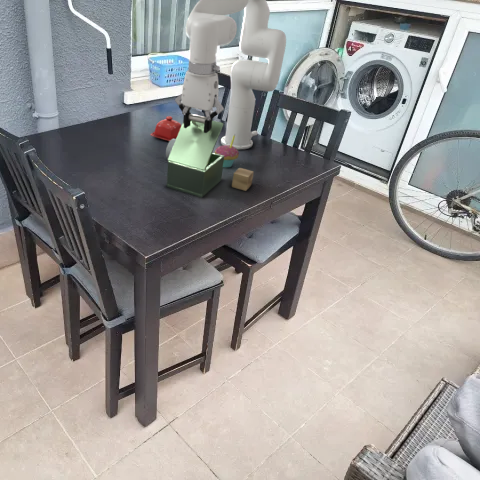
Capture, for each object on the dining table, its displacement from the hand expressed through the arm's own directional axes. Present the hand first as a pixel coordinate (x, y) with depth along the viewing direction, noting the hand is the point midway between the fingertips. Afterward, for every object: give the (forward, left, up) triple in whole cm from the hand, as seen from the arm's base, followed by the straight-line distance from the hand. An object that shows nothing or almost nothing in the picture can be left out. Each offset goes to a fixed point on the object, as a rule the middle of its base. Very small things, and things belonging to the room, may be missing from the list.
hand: (196, 128), depth 135 cm
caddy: (-2, -1, -19) cm, 19 cm away
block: (-14, +9, -19) cm, 25 cm away
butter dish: (-20, -38, -20) cm, 47 cm away
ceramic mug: (-10, -18, -20) cm, 28 cm away
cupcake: (-21, -6, -20) cm, 29 cm away
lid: (0, 0, -5) cm, 5 cm away
